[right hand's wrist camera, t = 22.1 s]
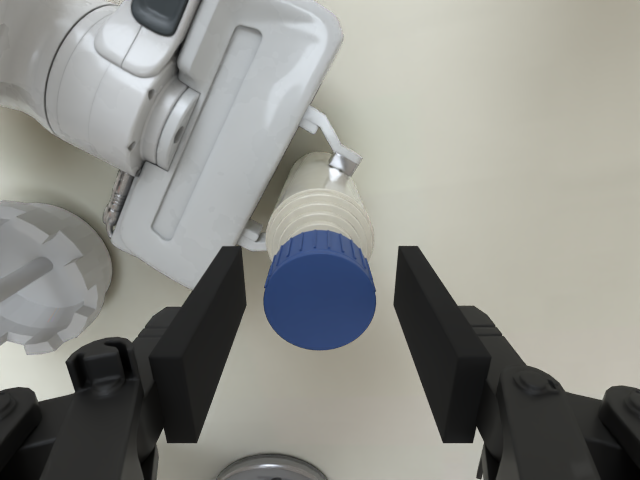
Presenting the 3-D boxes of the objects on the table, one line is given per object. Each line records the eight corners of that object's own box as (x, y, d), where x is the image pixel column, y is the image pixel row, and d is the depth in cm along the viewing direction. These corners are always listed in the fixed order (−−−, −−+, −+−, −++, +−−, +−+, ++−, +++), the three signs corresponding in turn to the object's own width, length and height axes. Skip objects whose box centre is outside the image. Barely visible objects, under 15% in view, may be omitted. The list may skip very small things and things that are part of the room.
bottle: (324, 137, 29) (332, 191, 12) (364, 189, 31) (423, 303, 13) (274, 179, 30) (213, 283, 13) (315, 226, 32) (309, 376, 15)
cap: (347, 212, 14) (353, 233, 12) (382, 297, 15) (393, 330, 13) (253, 250, 14) (241, 277, 12) (295, 328, 16) (291, 365, 14)
